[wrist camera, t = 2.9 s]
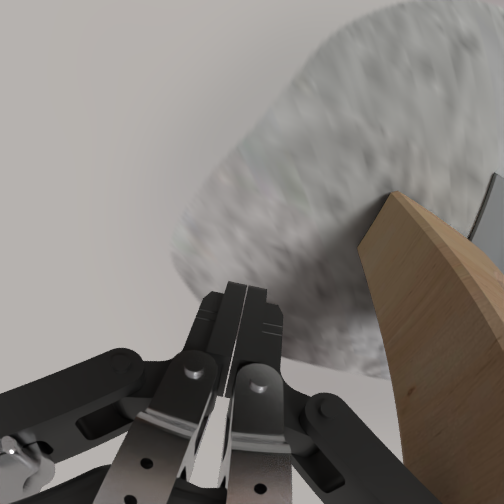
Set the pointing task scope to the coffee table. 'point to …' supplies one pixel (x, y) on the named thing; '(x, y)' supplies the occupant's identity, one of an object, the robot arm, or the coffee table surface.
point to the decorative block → (441, 349)
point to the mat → (492, 224)
